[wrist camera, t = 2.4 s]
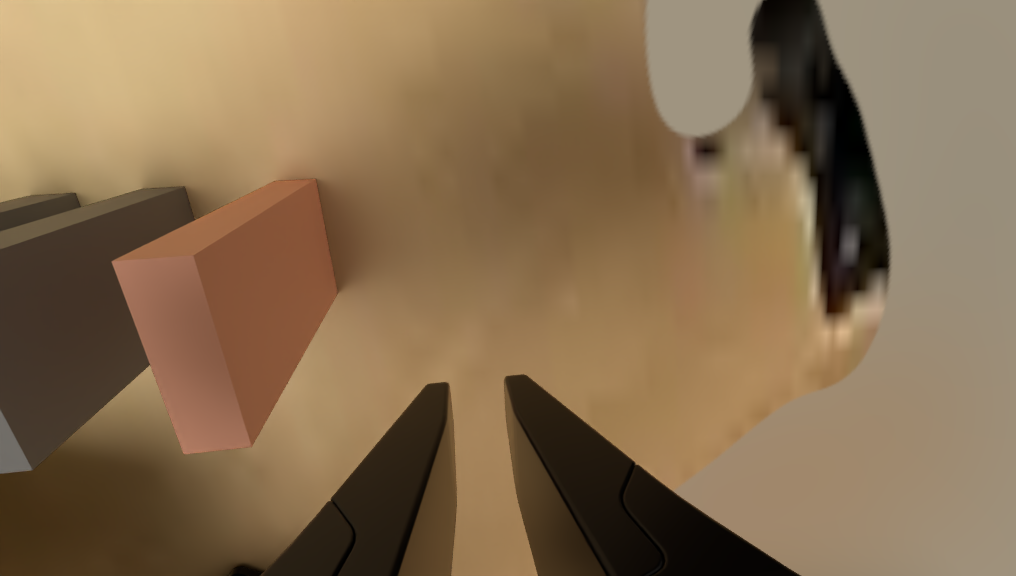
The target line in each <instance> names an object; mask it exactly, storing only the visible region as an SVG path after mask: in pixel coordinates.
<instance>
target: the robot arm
mask: <svg viewBox="0 0 1016 576" xmlns="http://www.w3.org/2000/svg"><path fill="white" fill-rule="evenodd" d="M504 392H505V411H506V423H507V431H508V438H509V445H510V453H511V460H512V467H513V474H514V482H515V488H516V494H517V498H518V503H519V507H520V511H521V514H522V518H523V522H524V525H525V529H526V533H527V537H528V540H529V544H530V548H531V551H532V555H533V559H534V562H535V566H536V570H537V574H538V576H801V575H799V574H797V573H796V572H794V571H792V570H791V569H789V568H787V567H786V566H784V565H783V564H781V563H780V562H778V561H777V560H775V559H774V558H772V557H770V556H769V555H768V554H766V553H764V552H763V551H761V550H760V549H758V548H757V547H755V546H754V545H752V544H750V543H749V542H747V541H746V540H744V539H743V538H741V537H740V536H738V535H737V534H735V533H734V532H732V531H731V530H729V529H727V528H726V527H724V526H723V525H721V524H720V523H718V522H717V521H715V520H714V519H712V518H711V517H709V516H708V515H706V514H705V513H703V512H702V511H700V510H699V509H697V508H696V507H694V506H693V505H692V504H690V503H688V502H687V501H686V500H684V499H683V498H681V497H680V496H678V495H677V494H676V493H674V492H673V491H672V490H670V489H669V488H668V487H666V486H665V485H664V484H663V483H661V482H660V481H659V480H657V479H656V478H655V477H653V476H652V475H651V474H650V473H648V472H647V471H646V470H645V469H643V468H642V467H641V466H640V465H636V463H635V462H634V461H633V460H632V459H631V458H629V457H628V456H627V455H626V454H624V453H623V452H622V451H621V450H619V449H618V448H617V447H616V446H614V445H613V444H612V443H611V442H609V441H608V440H607V439H606V438H604V437H603V436H602V435H601V434H599V433H598V432H597V431H596V430H594V429H593V428H592V427H591V426H589V425H588V424H587V423H586V422H584V421H583V420H582V419H581V418H579V417H578V416H577V415H576V414H574V413H573V412H572V411H571V410H569V409H568V408H567V407H566V406H564V405H563V404H562V403H561V402H559V401H558V400H557V399H556V398H554V397H553V396H552V395H551V394H549V393H548V392H547V391H546V390H544V389H543V388H542V387H541V386H539V385H538V384H537V383H536V382H534V381H533V380H532V379H531V378H529V377H528V376H527V375H524V374H522V375H512V376H506V377H505V379H504ZM456 507H457V488H456V465H455V442H454V423H453V412H452V402H451V393H450V386H449V384H448V383H447V382H441V383H431V384H427V385H426V386H425V387H424V388H423V390H422V391H421V392H420V393H419V394H418V395H417V397H416V398H415V399H414V400H413V401H412V403H411V404H410V405H409V406H408V407H407V409H406V410H405V411H404V412H403V413H402V415H401V416H400V417H399V418H398V419H397V420H396V422H395V423H394V424H393V425H392V426H391V428H390V429H389V430H388V431H387V432H386V434H385V435H384V436H383V437H382V438H381V440H380V441H379V442H378V443H377V444H376V445H375V447H374V448H373V449H372V450H371V451H370V453H369V454H368V455H367V456H366V457H365V459H364V460H363V461H362V462H361V463H360V464H359V466H358V467H357V468H356V469H355V470H354V472H353V473H352V474H351V475H350V476H349V478H348V479H347V480H346V481H345V482H344V484H343V485H342V486H341V487H340V488H339V489H338V491H337V492H336V493H335V494H334V495H333V497H332V498H331V501H329V502H327V503H326V505H325V506H324V507H323V508H322V509H321V511H320V512H319V513H318V514H317V515H316V517H315V518H314V519H313V520H312V521H311V522H310V523H309V524H308V526H307V527H306V528H305V529H304V530H303V531H302V532H301V533H300V535H299V536H298V537H297V538H296V539H295V540H294V541H293V542H292V544H291V545H290V546H289V547H288V548H287V549H286V550H285V551H284V552H283V553H282V554H281V555H280V556H279V557H278V558H277V559H276V560H275V561H274V562H273V563H272V564H271V565H270V566H269V567H268V568H267V569H266V570H265V571H264V572H263V573H260V572H257V571H254V570H251V569H248V568H245V567H237V568H234V569H233V570H232V571H231V573H230V574H229V576H451V569H452V558H453V546H454V534H455V522H456Z"/></svg>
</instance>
